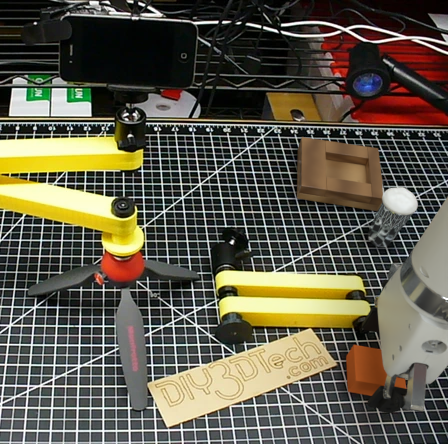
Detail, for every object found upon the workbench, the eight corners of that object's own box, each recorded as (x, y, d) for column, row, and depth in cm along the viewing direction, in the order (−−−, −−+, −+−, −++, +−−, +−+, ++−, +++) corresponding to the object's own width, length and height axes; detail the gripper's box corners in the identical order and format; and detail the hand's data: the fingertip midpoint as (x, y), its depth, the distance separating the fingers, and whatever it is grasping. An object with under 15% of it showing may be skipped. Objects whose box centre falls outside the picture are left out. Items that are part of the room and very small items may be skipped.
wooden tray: (372, 161, 93) (378, 148, 91) (377, 211, 86) (384, 198, 84) (297, 149, 94) (301, 136, 92) (296, 198, 87) (301, 185, 85)
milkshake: (362, 219, 85) (387, 171, 77) (398, 235, 83) (427, 187, 76) (352, 240, 82) (377, 191, 75) (389, 256, 81) (418, 209, 73)
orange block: (392, 364, 70) (402, 352, 68) (396, 400, 67) (406, 389, 65) (345, 356, 70) (353, 344, 68) (347, 391, 67) (355, 380, 65)
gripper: (508, 374, 47) (421, 448, 60) (469, 217, 58) (402, 308, 71) (415, 357, 48) (348, 434, 61) (394, 205, 59) (341, 297, 72)
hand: (377, 366), depth 66 cm, fingers open, 9 cm apart
